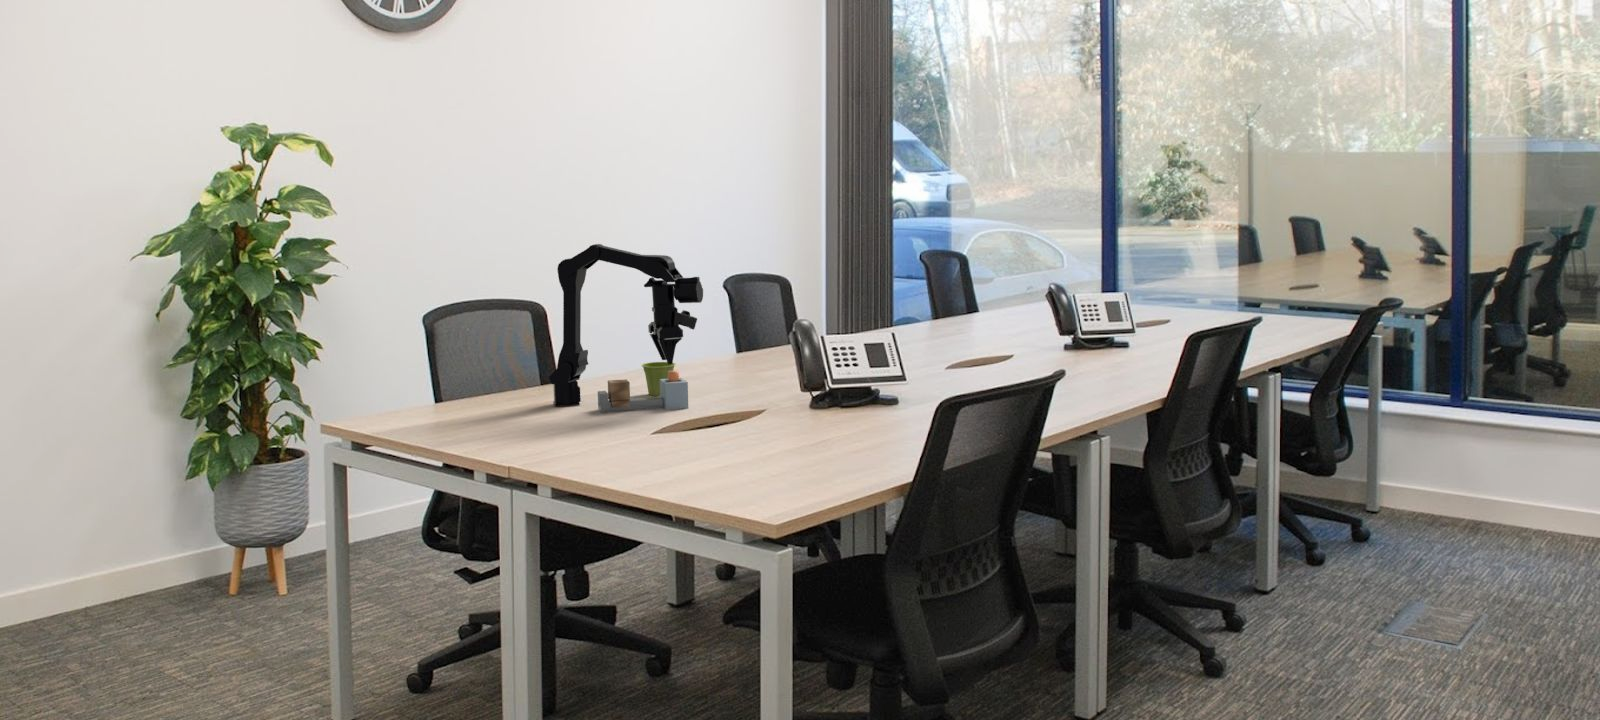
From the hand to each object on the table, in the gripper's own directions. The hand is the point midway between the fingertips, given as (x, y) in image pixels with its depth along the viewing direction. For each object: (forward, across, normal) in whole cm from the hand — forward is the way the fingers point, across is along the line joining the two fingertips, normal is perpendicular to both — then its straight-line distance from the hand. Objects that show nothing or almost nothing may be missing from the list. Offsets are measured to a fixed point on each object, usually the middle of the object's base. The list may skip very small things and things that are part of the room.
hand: (667, 361), depth 365 cm
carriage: (+11, 0, +13) cm, 17 cm away
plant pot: (+12, +22, -1) cm, 25 cm away
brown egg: (+6, +1, -2) cm, 7 cm away
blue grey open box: (+12, +1, -1) cm, 12 cm away
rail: (+12, 0, +9) cm, 15 cm away
